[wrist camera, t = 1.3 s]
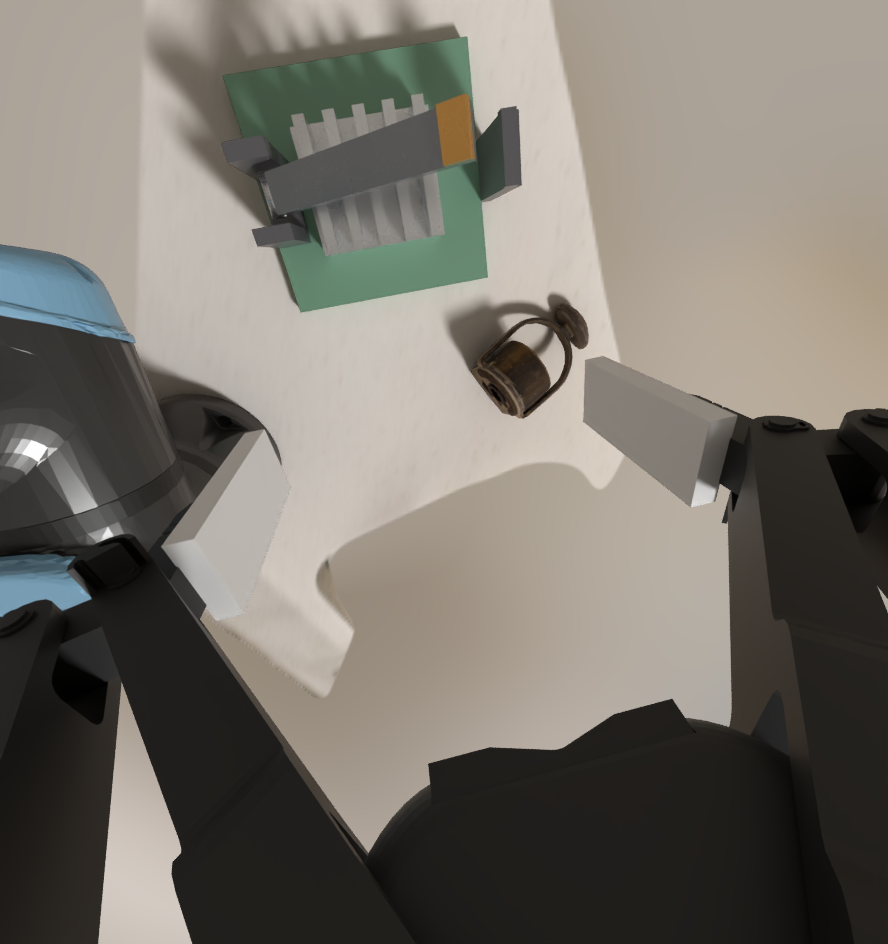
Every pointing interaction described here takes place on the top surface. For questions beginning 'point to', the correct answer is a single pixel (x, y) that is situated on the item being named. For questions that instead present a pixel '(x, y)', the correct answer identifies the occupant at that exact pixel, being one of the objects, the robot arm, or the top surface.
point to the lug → (500, 155)
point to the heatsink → (379, 211)
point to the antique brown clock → (528, 365)
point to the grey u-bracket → (251, 160)
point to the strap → (375, 159)
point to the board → (366, 81)
